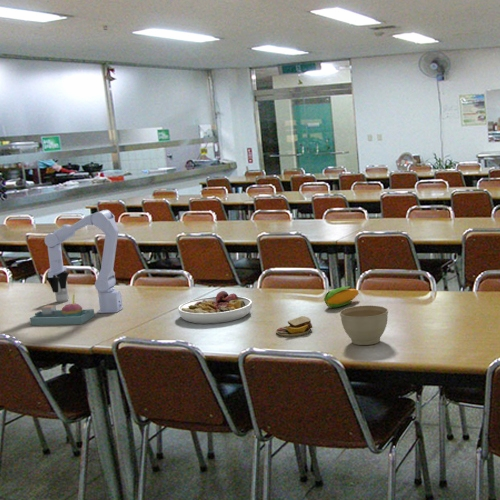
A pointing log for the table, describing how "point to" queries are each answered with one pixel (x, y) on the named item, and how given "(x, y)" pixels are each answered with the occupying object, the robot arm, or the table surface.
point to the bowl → (215, 309)
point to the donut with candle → (72, 309)
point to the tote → (62, 318)
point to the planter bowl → (364, 323)
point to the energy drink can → (62, 293)
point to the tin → (49, 311)
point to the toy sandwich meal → (296, 327)
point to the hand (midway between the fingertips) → (59, 290)
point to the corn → (340, 297)
